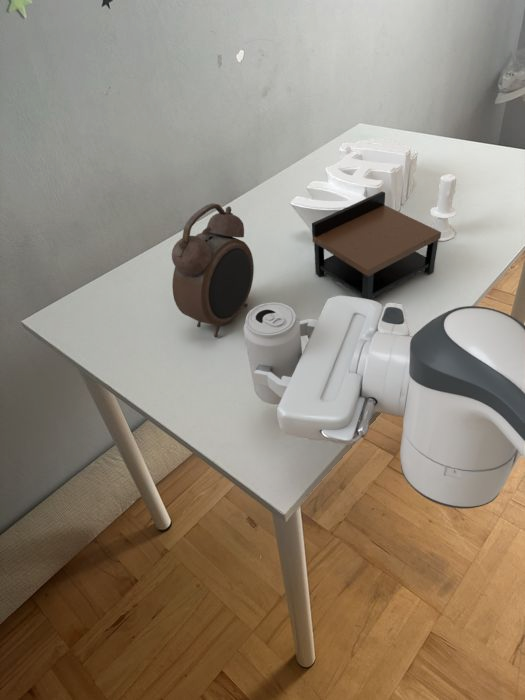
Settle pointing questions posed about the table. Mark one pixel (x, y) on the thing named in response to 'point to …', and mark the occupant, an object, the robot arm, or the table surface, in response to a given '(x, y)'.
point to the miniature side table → (372, 246)
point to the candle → (445, 207)
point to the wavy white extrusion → (361, 179)
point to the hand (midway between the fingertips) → (268, 350)
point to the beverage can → (272, 343)
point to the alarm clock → (212, 269)
